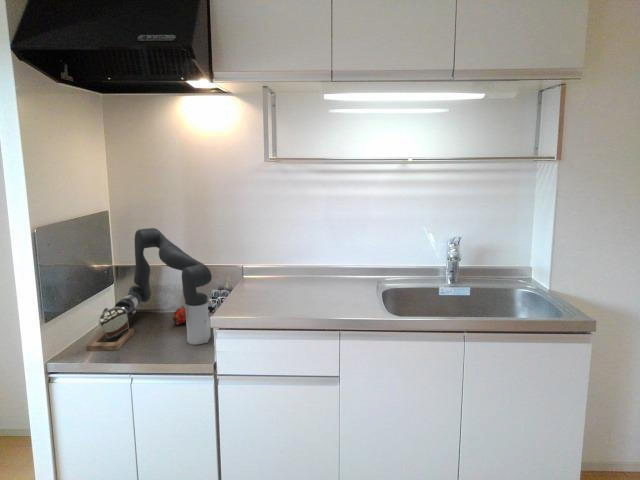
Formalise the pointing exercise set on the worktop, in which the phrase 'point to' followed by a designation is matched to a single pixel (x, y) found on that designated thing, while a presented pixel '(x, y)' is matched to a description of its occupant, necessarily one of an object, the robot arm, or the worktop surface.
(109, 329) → the food container
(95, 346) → the notched board
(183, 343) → the worktop surface
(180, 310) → the dragon fruit
